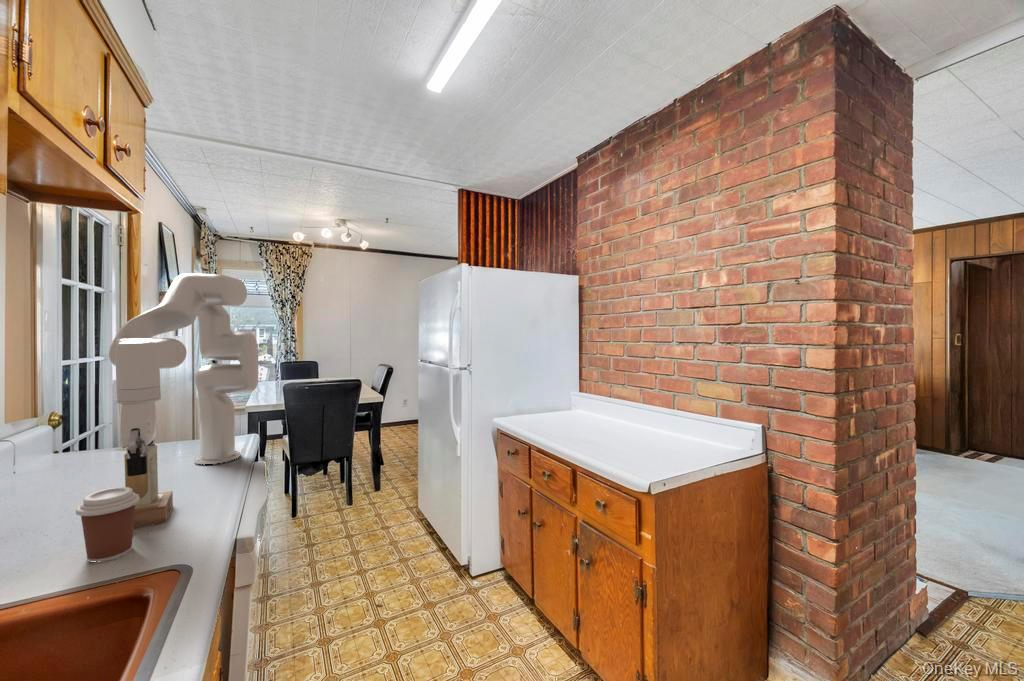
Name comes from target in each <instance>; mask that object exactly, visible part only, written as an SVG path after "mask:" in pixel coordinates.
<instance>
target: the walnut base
mask: <svg viewBox="0 0 1024 681" xmlns="http://www.w3.org/2000/svg"><path fill="white" fill-rule="evenodd" d="M173 497H174V496H173V491H172V490H169V491H164V492H158V495H157V496H156V497H155V499H154V500H153V501H152V502H151V503H150V504H148V505H140V506H135V515H134V527H133V529H138V528H137V527H139V528H143V527H142V526H144V527H148V526H147V525H150V526H153V525H152V524H155V525H160V524H165V523H164V522H166V523H167V521H168V518H169V516H170V513H171V512H170V511H172V509H173V507H174V503H173V502H174V498H173ZM166 520H167V521H166ZM159 523H160V524H159Z"/></svg>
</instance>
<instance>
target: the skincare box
mask: <svg viewBox="0 0 1024 681" xmlns="http://www.w3.org/2000/svg"><path fill="white" fill-rule="evenodd" d="M139 449H140V451H141V448H139ZM144 456H146V461H147V473H146V474H143V475H136V476H128V475H127V452H125V453H124V480H125V481H124V484H125V486H124V487H129V488H132V490H133V492H134V493H135V494H139V497H140V501H139V502H138V503H136V504H135V506H140V505H148V504H150V503H151V502H152V501H153V500H154V499H155V497H156V496H157V495H158V493H159V481H158V480H159V479H158V477H159V476H158V475H159V474H158V445H157V444H155V445H153V446H145V454H144Z"/></svg>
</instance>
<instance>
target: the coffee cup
mask: <svg viewBox="0 0 1024 681" xmlns="http://www.w3.org/2000/svg"><path fill="white" fill-rule="evenodd" d="M82 500H83V501H82V502H81V503H80V504H79V505H78V506H76V508H75V514H76V515H77V516H80V518H81V525H82V531H83V539H84V545H85V553H86V559H87V560H89V561H96V562H98V561H105V562H109V561H112V559H113V560H116V559H119V558H120V557H123V556H125V555H127V554H128V553H130V552H131V551H132V550H133V538H134V536H133V535H134V528H133V527H134V515H135V504H136V503H138V502H139V501H140V497H139V494H135V493H134V492H133V490H132V488H129V487H125V486H118V487H110V488H106V489H101V490H98V491H94V492H92V493H89V494H87V495H86V496H84V497H83V499H82ZM131 549H132V550H131ZM130 550H131V551H130ZM118 557H119V558H118ZM87 560H86V561H87ZM108 560H109V561H108Z"/></svg>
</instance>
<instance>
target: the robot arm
mask: <svg viewBox="0 0 1024 681" xmlns="http://www.w3.org/2000/svg"><path fill="white" fill-rule="evenodd" d="M246 286H247V285H245V283H244V281H242V280H241V279H239V278H236V277H232V276H229V275H224V274H218V273H217V274H215V273H193V272H191V273H190V272H189V273H182V274H179V275H178V276H176V277H174V279H173V281H172V282H171V284H170V286H169V287H168V289H167V291H166V293H164V294H165V295H164V296H163V298H162V299H161V301H160V302H159V303H158V304H159V305H158V306H156V307H153V308H151V309H149V310H147V311H144V312H143V313H141V314H139V315H136V316H134V317H133V318H131V319H130V320H128V321H127V322H126V323H124V324H123V325H122V327H120V329H119V330H118V332H117V334H116V335H115V337H114V338H113V340H112V343H111V345H110V347H109V351H108V357H109V360H110V363H111V364H113V366H115V379H116V380H115V381H116V403H117V404H118V405H121V410H120V423H119V424H120V427H119V428H120V430H119V431H120V432H119V433H120V435H119V436H120V442H119V445H120V448H121V449H123V450H125V449H126V448H127V452H126V453H127V475H128V476H136V475H143V474H146V473H147V461H146V456H144V454H145V446H153V445H156V444H155V437H156V435H157V416H156V415H157V412H156V411H157V409H156V402H159V401H160V400H161V399H162V398H161V397H162V396H161V371H160V370H162V369H163V370H165V369H172V368H173V369H174V368H177V367H179V366H181V365H182V364H183V363H184V361H185V360H186V357H187V348H186V346H185V344H184V343H183V342H182V341H180V340H178V339H175V338H172V337H170V338H169V337H155V336H159V335H162V334H166V333H169V332H173V331H177V330H181V329H184V328H187V327H189V326H191V325H192V324H193V323H194V322H195V321H196V319H197V320H198V336H199V337H198V338H199V350H200V355H201V357H202V358H203V359H205V360H208V361H238V362H239V363H238V364H237V363H235V364H234V363H233V364H230V363H226V364H225V363H223V364H222V363H220V364H219V363H218V364H207V365H203V366H201V367H199V368H198V369H197V371H196V372H195V375H194V381H195V386H196V390H197V397H198V405H199V406H198V408H199V411H198V412H199V443H200V444H199V451H200V452H199V454H200V455H198V456H196V457H195V458H194V464H196V465H199V464H201V466H206V465H205V464H213V465H218V464H217V463H220V464H224V463H223V462H225V463H229V462H232V461H231V460H233V461H235V460H237V459H239V458H240V457H241V456H240V455H241V451H240V450H239V451H238V450H236V437H235V436H236V433H235V432H236V429H235V425H236V424H235V419H236V418H235V404H234V402H233V400H232V399H231V397H229V395H228V394H231V393H232V394H233V393H234V394H236V393H237V394H238V393H250V392H253V391H255V390H256V388H258V385H259V357H258V356H259V355H258V353H259V351H258V341H257V338H256V336H255V335H254V334H253V333H251V332H247V331H232V329H231V327H232V326H231V316H230V314H229V312H228V311H227V310H226V308H225V307H223V306H229V307H230V306H231V307H232V306H233V307H236V306H237V307H238V306H239V307H240V306H241V305H243V304H244V303H245V302H246V300H247V296H248V290H247V289H248V288H247V287H246ZM139 448H141V451H140V449H139ZM239 456H240V457H239ZM238 457H239V458H238ZM236 458H237V459H236ZM234 459H235V460H234ZM228 461H229V462H228ZM202 464H203V465H202Z"/></svg>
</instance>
